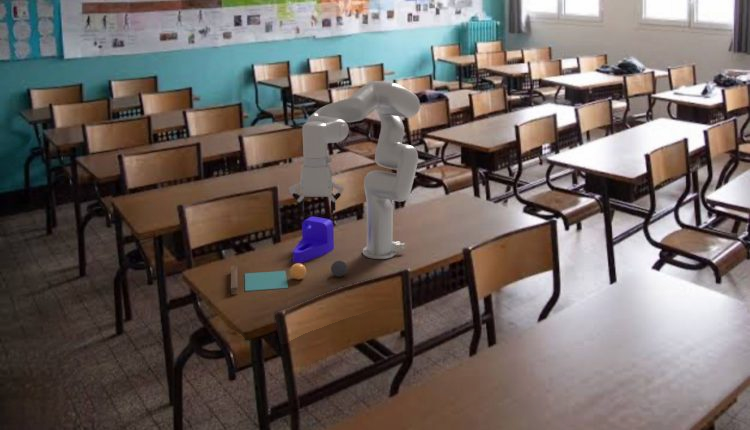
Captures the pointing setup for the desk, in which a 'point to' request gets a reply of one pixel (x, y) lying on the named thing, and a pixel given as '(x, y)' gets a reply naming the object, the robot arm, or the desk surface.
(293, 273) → the orange ball
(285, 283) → the teal mark
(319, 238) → the bracket
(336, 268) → the grey ball
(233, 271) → the wooden bar
